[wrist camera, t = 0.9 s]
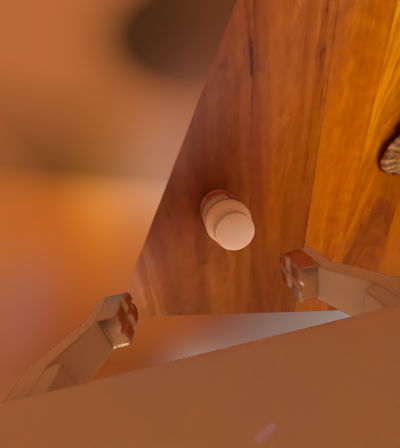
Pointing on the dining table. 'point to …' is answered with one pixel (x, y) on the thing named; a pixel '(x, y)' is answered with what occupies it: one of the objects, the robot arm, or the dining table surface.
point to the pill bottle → (227, 220)
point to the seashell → (392, 157)
